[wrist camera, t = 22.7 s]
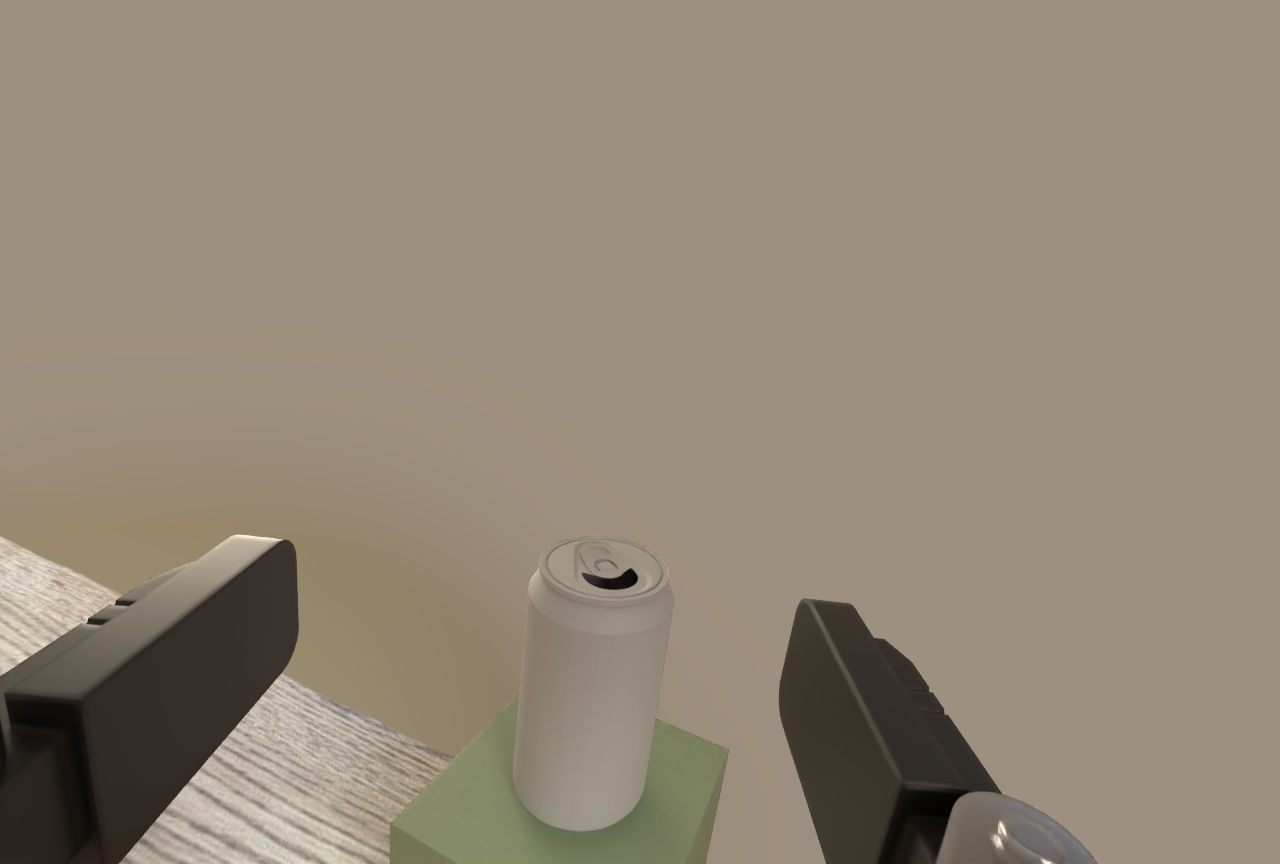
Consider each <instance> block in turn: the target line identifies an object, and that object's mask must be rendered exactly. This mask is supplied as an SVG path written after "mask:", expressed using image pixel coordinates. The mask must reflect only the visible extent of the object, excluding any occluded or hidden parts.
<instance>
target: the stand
mask: <svg viewBox="0 0 1280 864" xmlns="http://www.w3.org/2000/svg"><path fill="white" fill-rule="evenodd" d="M518 703H519V693H518V694H517V695H516V696H515V697H514V698H513V699H512V700H511V701H510V702H509V703H508V704H507V705H506V706H505V707H504V708H503V709H502V710H501V711H500V712H499V713H498V714H497V715H496V716H495V717H494V718H493V719H492V720H491V722H489V724H487V725H486V726H485V728H484V729H483V730H482V731H481V732H480V733H479V734H478V735H477V736H476V737H475V738H474V739H473V740H472V741H471V742H470V743H469V744H468V745H467V746H466V747H465V748H464V749H463V750H462V751H461V752H460V753H459V754H458V755H457V756H456V757H455V758H454V759H453V760H452V761H451V762H450V763H449V764H448V765H447V766H446V768H445V769H444V770H443V771H442V772H441V773H440V774H439V775H438V776H437V777H436V778H435V779H434V780H433V781H432V782H431V783H430V784H429V785H428V786H427V787H426V788H425V789H424V790H423V791H422V792H421V793H420V794H419V795H418V796H417V797H416V798H415V799H414V800H413V801H412V802H411V803H410V804H409V805H408V806H407V808H406V809H405V810H404V811H403V812H402V813H401V814H400V815H399V816H398V817H397V818H396V819H395V820H394V821H393V822H392V823H391V827H390V864H706V859H707V854H708V849H709V844H710V840H711V835H712V830H713V825H714V821H715V816H716V810H717V805H718V801H719V796H720V792H721V787H722V782H723V777H724V772H725V767H726V763H727V758H728V753H729V749H726V748H724V747H722V746H719V745H717V744H714V743H712V742H710V741H707V740H705V739H703V738H700V737H698V736H696V735H693V734H691V733H688V732H686V731H684V730H681V729H679V728H677V727H675V726H672V725H670V724H667V723H665V722H663V721H660V720H658V719H655V725H654V731H653V737H652V744H651V750H650V756H649V762H648V769H647V775H646V781H645V786H644V790H643V793H642V795H641V798H640V800H639V801H638V803H637V804H636V806H635V807H634V808H633V810H632V811H631V812H630V813H629V814H628V815H627V816H625V817H624V818H623V819H621V820H620V821H618V822H616V823H615V824H613V825H610V826H608V827H605V828H602V829H598V830H593V831H583V832H576V831H569V830H564V829H559V828H555V827H552V826H550V825H548V824H546V823H544V822H542V821H540V820H539V819H537V818H536V817H535V816H533V815H532V814H531V813H530V812H529V811H528V810H527V809H526V808H525V807H524V805H523V804H522V802H521V801H520V799H519V797H518V795H517V793H516V790H515V787H514V783H513V762H514V750H515V738H516V727H517V715H518Z"/></svg>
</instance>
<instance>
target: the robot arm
mask: <svg viewBox="0 0 1280 864" xmlns="http://www.w3.org/2000/svg"><path fill="white" fill-rule="evenodd" d="M298 626H299V623H298V592H297V561H296V551H295V548H294V546H293V544H292V543H291V542H290V541H288V540H282V539H273V538H264V537H255V536H246V535H234V536H232V537H230V538H228V539H227V540H225V541H224V542H222V543H221V544H219V545H218V546H217V547H215V548H214V549H212V550H211V551H209V552H208V553H206V554H205V555H203V556H202V557H200V558H199V559H198V560H196V561H195V562H193V563H188V564H185V565H183V566H180V567H178V568H175V569H173V570H170V571H168V572H165V573H162V574H160V575H157V576H155V577H153V578H150V579H148V580H146V581H145V582H143V583H142V584H140V585H139V586H137V587H136V588H134V589H133V590H131V591H130V592H128V593H126V594H125V595H123V596H122V597H120V598H119V599H117V600H116V603H115V605H108V606H107V607H105V608H104V609H102V610H101V611H99V612H98V613H96V614H95V615H93V616H92V617H90V618H88V622H87V623H86V624H79V625H78V626H76V627H75V628H73V629H72V630H70V631H69V632H67V633H66V634H64V635H63V636H61V637H60V638H58V639H57V640H55V641H54V642H52V643H50V644H49V645H47V646H46V647H44V648H43V649H41V650H40V651H38V652H37V653H35V654H34V655H32V656H31V657H29V658H28V659H26V660H25V661H23V662H22V663H20V664H19V665H17V666H16V667H14V668H13V669H11V670H9V671H8V672H6V673H5V674H3V675H2V676H0V864H119V863H120V862H121V860H122V859H123V858H124V857H125V856H126V855H127V853H128V852H129V851H130V850H131V849H132V848H133V846H134V845H135V844H136V843H137V842H138V840H139V839H140V838H141V837H142V836H143V835H144V833H145V832H146V831H147V830H148V829H149V828H150V826H151V825H152V824H153V823H154V822H155V821H156V819H157V818H158V817H159V816H160V815H161V814H162V812H163V811H164V810H165V809H166V808H167V807H168V805H169V804H170V803H171V802H172V801H173V799H174V798H175V797H176V796H177V795H178V794H179V792H180V791H181V790H182V789H183V788H184V787H185V785H186V784H187V783H188V782H189V781H190V780H191V778H192V777H193V776H194V775H195V774H196V773H197V771H198V770H199V769H200V768H201V767H202V766H203V764H204V763H205V762H206V761H207V760H208V758H209V757H210V756H211V755H212V754H213V753H214V751H215V750H216V749H217V748H218V747H219V746H220V744H221V743H222V742H223V741H224V740H225V739H226V737H227V736H228V735H229V734H230V733H231V732H232V730H233V729H234V728H235V727H236V726H237V725H238V723H239V722H240V721H241V720H242V719H243V717H244V716H245V715H246V714H247V713H248V712H249V710H250V709H251V708H252V707H253V706H254V705H255V703H256V702H257V701H258V700H259V699H260V698H261V696H262V695H263V694H264V693H265V692H266V691H267V689H268V688H269V687H270V686H271V685H272V684H273V682H274V681H275V680H276V679H277V678H278V676H279V675H280V674H281V673H282V672H283V670H284V669H285V667H286V666H287V664H288V663H289V661H290V659H291V657H292V654H293V652H294V649H295V646H296V642H297V637H298V629H299V627H298ZM779 710H780V717H781V722H782V725H783V728H784V731H785V735H786V738H787V741H788V744H789V747H790V750H791V754H792V757H793V760H794V763H795V766H796V769H797V773H798V776H799V779H800V782H801V785H802V788H803V791H804V795H805V798H806V801H807V804H808V807H809V810H810V814H811V817H812V820H813V823H814V826H815V829H816V833H817V836H818V839H819V842H820V845H821V848H822V852H823V854H824V858H825V861H826V864H1098V863H1097V862H1096V860H1095V859H1094V857H1093V856H1092V855H1091V853H1090V852H1089V851H1088V850H1087V849H1086V848H1085V847H1084V846H1083V845H1082V844H1081V842H1080V841H1079V840H1078V839H1077V838H1076V837H1074V836H1073V835H1072V834H1071V833H1070V832H1069V831H1068V830H1067V829H1065V828H1064V827H1063V826H1061V825H1060V824H1059V823H1058V822H1056V821H1055V820H1053V819H1052V818H1051V817H1049V816H1048V815H1046V814H1045V813H1043V812H1041V811H1040V810H1038V809H1036V808H1034V807H1033V806H1031V805H1028V804H1026V803H1024V802H1022V801H1019V800H1017V799H1015V798H1012V797H1009V796H1006V795H1003V794H1002V793H1001V791H1000V790H999V789H998V787H997V785H996V784H995V783H994V781H993V780H992V778H991V777H990V775H989V774H988V772H987V771H986V769H985V768H984V767H983V765H982V764H981V762H980V761H979V759H978V758H977V756H976V755H975V753H974V752H973V751H972V749H971V748H970V746H969V745H968V743H967V742H966V740H965V739H964V737H963V736H962V734H961V733H960V732H959V730H958V729H957V727H956V726H955V724H954V723H953V721H952V720H951V719H950V717H949V716H948V715H945V714H944V708H943V707H942V705H941V704H940V703H939V701H938V700H937V698H936V697H935V695H934V694H933V693H931V692H929V687H928V685H927V684H926V682H925V681H924V679H923V678H922V676H921V675H920V673H919V672H918V671H917V669H916V668H915V666H914V665H913V663H912V662H911V661H910V660H909V659H907V658H906V657H905V656H904V655H903V654H901V653H900V652H899V651H898V650H897V649H895V648H894V647H893V646H892V645H891V644H889V643H888V642H887V641H886V640H884V639H877V638H873V636H872V635H871V633H870V631H869V630H868V628H867V627H866V625H865V623H864V622H863V620H862V619H861V617H860V616H859V614H858V612H857V611H856V609H855V608H854V606H853V605H851V604H849V603H841V602H832V601H823V600H814V599H802V600H801V601H800V603H799V605H798V607H797V610H796V614H795V618H794V623H793V627H792V632H791V636H790V640H789V644H788V649H787V653H786V658H785V662H784V666H783V671H782V675H781V680H780V687H779Z"/></svg>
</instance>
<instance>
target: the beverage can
mask: <svg viewBox="0 0 1280 864" xmlns="http://www.w3.org/2000/svg"><path fill="white" fill-rule="evenodd" d="M669 575H670V574H669V568H668V566H667V564H666V562H665V561H664V560H663V559H662V558H661V557H660V556H659V555H658V554H656V553H655V552H654V551H652V550H650V549H648V548H647V547H645V546H643V545H640V544H638V543H635V542H632V541H628V540H625V539H621V538H616V537H608V536H579V537H573V538H568V539H564V540H562V541H559V542H557V543H555V544H553V545H551V546H550V547H548V548H547V549H546V550H545V551H544V552H543V554H542V555H541V558H540V563H539V569H538V570H537V571H536V573H535V574H534V575H533V577H532V578H531V580H530V583H529V588H528V598H527V610H526V621H525V634H524V645H523V657H522V669H521V680H520V691H519V703H518V715H517V727H516V738H515V750H514V762H513V783H514V787H515V790H516V793H517V795H518V797H519V799H520V801H521V802H522V804H523V805H524V807H525V808H526V809H527V810H528V811H529V812H530V813H531V814H532V815H533V816H535V817H536V818H537V819H539V820H540V821H542V822H544V823H546V824H548V825H550V826H552V827H555V828H559V829H564V830H569V831H576V832H583V831H593V830H598V829H602V828H605V827H608V826H610V825H613V824H615V823H616V822H618V821H620V820H621V819H623V818H624V817H625V816H627V815H628V814H629V813H630V812H631V811H632V810H633V808H634V807H635V806H636V804H637V803H638V801H639V800H640V798H641V795H642V793H643V790H644V786H645V781H646V775H647V769H648V762H649V756H650V750H651V744H652V737H653V731H654V725H655V719H656V713H657V706H658V700H659V694H660V688H661V681H662V675H663V669H664V663H665V657H666V650H667V644H668V637H669V631H670V626H671V619H672V613H673V606H674V595H673V592H672V590H671V588H670V585H669V584H668V582H669Z"/></svg>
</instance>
